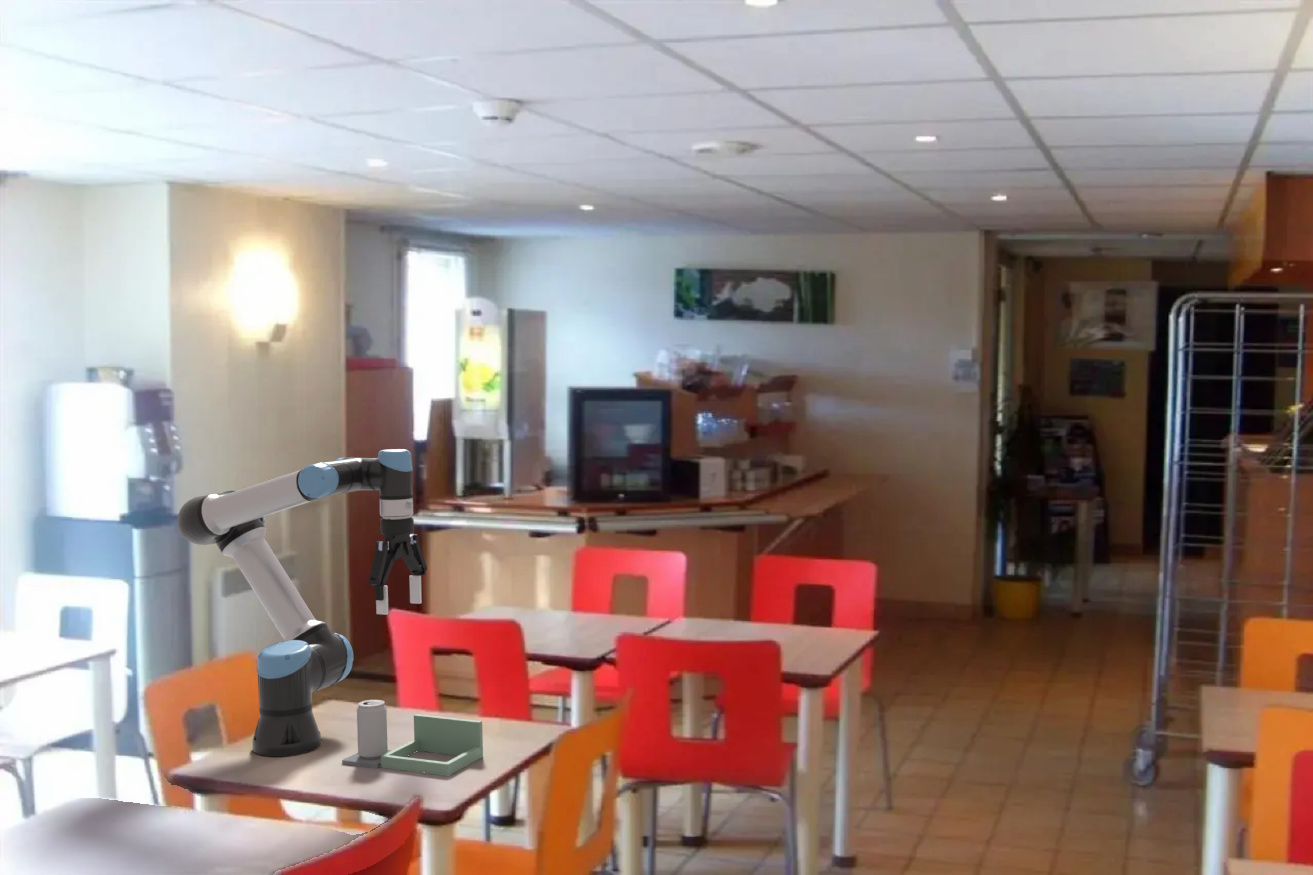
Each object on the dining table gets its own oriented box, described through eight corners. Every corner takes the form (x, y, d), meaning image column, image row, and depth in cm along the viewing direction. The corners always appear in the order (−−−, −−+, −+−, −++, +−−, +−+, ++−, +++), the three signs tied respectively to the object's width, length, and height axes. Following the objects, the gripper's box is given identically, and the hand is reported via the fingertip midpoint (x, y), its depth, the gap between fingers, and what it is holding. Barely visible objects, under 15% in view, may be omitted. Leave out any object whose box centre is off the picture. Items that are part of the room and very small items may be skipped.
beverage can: (363, 751, 301) (361, 698, 300) (391, 751, 300) (389, 698, 300) (354, 760, 295) (352, 706, 294) (383, 760, 294) (381, 706, 293)
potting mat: (342, 763, 295) (342, 760, 295) (369, 751, 304) (368, 747, 304) (376, 768, 291) (376, 764, 291) (402, 755, 301) (402, 751, 300)
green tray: (380, 767, 292) (379, 731, 291) (417, 748, 305) (416, 714, 305) (448, 776, 285) (447, 738, 285) (483, 756, 298) (482, 721, 298)
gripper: (379, 524, 296) (381, 620, 297) (440, 510, 319) (442, 599, 320) (350, 523, 299) (353, 617, 300) (413, 509, 322) (415, 598, 323)
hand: (399, 608), depth 310 cm, fingers open, 13 cm apart
